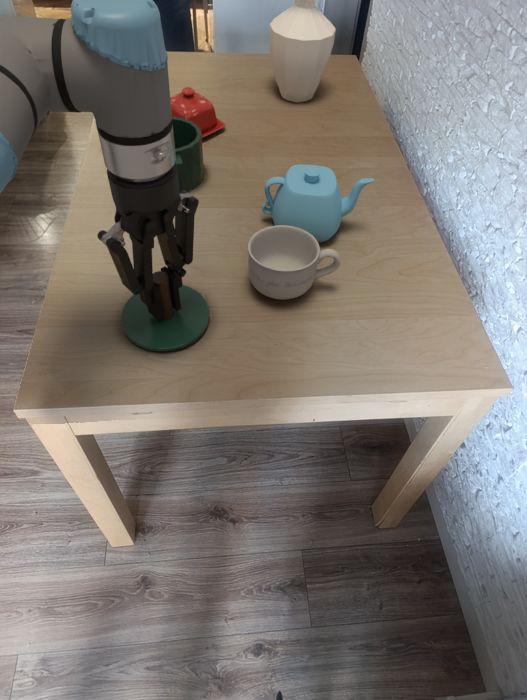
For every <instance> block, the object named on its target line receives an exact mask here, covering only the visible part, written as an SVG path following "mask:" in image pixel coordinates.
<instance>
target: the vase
mask: <svg viewBox="0 0 527 700" xmlns="http://www.w3.org/2000/svg"><path fill="white" fill-rule="evenodd" d="M316 3H317V0H294V4H292V5H291V6H289V7H288V8H287V9H285V10H284V11H283V12H281V13H280V14H278V15H276V16H275V17H274V18H273V19H272V20H271V22H270V23H269V29H268V30H269V31H268V45H269V53H270V54H269V55H270V59H271V64H272V69H273V74H274V79H275V83H276V84H277V87H278V90H279V93H280V96H281V98H283V99H284V100H286V101H289V102H293V103H296V104H297V103H305V102H307V101H310V100H312V99H313V97H314V95H315V94H316V92H317V89H318V87H319V84H320V82H321V80H322V77H323V74H324V72H325V70H326V67H327V65H328V62H329V60H330V57H331V54H332V50H333V48H334V43H335V36H336V30H337V28H336V27H335V26H334V25H333V23H332V22H331V21H330V20H329V18H328V17H326V16H325V14H324V13H323V12H322V11H321V10H320V9H319V8H318V7H317V6H316Z"/></svg>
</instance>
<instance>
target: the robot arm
mask: <svg viewBox="0 0 527 700" xmlns="http://www.w3.org/2000/svg"><path fill="white" fill-rule="evenodd" d="M70 14H71V17H68V18H53V17H37V16H24V15H23V16H22V15H10V14H9V15H8V14H0V195H1V194H2V193H3V192H4V189H5V188H6V187H7V185H8V183H11V182H12V180H13V179H14V178H15V176H16V173H17V171H18V165H19V163H20V160H21V159H22V156H23V154H24V152H25V150H26V148H27V146H28V144H29V142H30V140H31V139H32V137H33V136H34V135H35V133H36V131H37V129H38V127H39V126H40V123H41V121H42V120H43V118H44V115H45V114H46V112H57V113H92V115H93V117H94V120H95V125H96V131H97V134H98V138H99V143H100V147H101V148H100V149H101V152H102V157H103V162H104V166H105V168H106V175H107V180H108V184H109V189H110V193H111V197H112V200H113V203H114V206H115V214H114V217H113V218H114V224H113V225H112V226H111V227H110V229H108V230H104V229H102V230H100V231H98V233H97V239H98V240H99V241H100V242H101V243H103V244H104V245H105V246H106V248H107V250H108V252H109V255H110V258H111V260H112V262H113V264H114V267H115V270H116V272H117V274H118V276H119V279H120V281H121V283H122V285H123V286H124V287H125V288H126V289H127V290H128V291H129V292H130V293H132V295H138V294H140V299H141V301H142V302H143V303H145V304H146V305H147V307H148V312H149V313H150V314H151V315H153V316H154V317H155V318H156V319H157V320H158V321H159V322H161V321H162V320H164V317H163V311H162V304H161V298H160V292H159V287H158V286H156V285H155V284H154V283H153V273H154V272H153V268H154V267H153V249H154V248H155V238H156V239H157V242H158V246H159V248H160V252H161V255H162V258H163V262H164V265H165V266H163V267H161V268H160V271H163V272H166V273H167V274H168V276H169V283H170V290H171V297H172V304H173V308H174V309H175V310H176V311H178V310H180V309H181V303H180V295H179V288H181V287H182V285H183V279H182V278H183V277H185V276H186V274H187V270H186V269H185V268H183V267H184V266H186V265H191V264H192V263H193V261H194V241H195V240H194V239H195V216H196V212H197V209H198V206H199V203H200V202H199V201H200V200H199V199H198V198H197V197H195V196H194V195H192V194H191V193H189V191H185V190H182V191H181V192H180V193H179V182H178V172H177V165H176V163H175V161H176V154H175V144H174V134H173V123H172V113H171V101H170V97H171V91H170V90H171V89H170V79H169V67H168V66H169V65H168V59H169V58H168V52H167V50H166V46H165V39H164V32H163V26H162V19H161V13H160V10H159V7H158V5H157V4H156V2H155V1H154V0H72V1H71V5H70ZM124 233H127V234H128V237H129V239H130V241H131V248H132V249H131V250H132V261H131V258H130V256H129V253H128V251H127V249H126V248H125V246H126V242H125V238H124ZM132 263H133V264H132Z"/></svg>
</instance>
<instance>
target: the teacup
mask: <svg viewBox="0 0 527 700" xmlns="http://www.w3.org/2000/svg"><path fill="white" fill-rule="evenodd" d="M247 253H248V254H247V255H248V256H247V257H248V258H247V263H248V264H247V265H248V267H247V268H248V276H249V279H250V282H251V285H252V286H253V288H254V289H256V290H257V291H258V292H259V293H260V294H262V295H263V296H266V297H269V298H271V299H274V300H290V299H295V298H298V297H301V296H302V295H304V294H305V293H306V292H308V291H309V289H310V288H311V287H312V285H313V284H314V281H317V280H318V279H319V278H322V277H324V276H327V275H330V274H332V273H334V272H336V271H337V270H338V269H339V267H340V265H341V263H342V261H341V256H340V253H339V252H338V251H337V250H336V249H333V248H324V249H322V250H321V247H320V244H319V242H317V240H316V239H315V237H314V236H313V235H311V234H310V233H308V232H307V231H305V230H302V229H300V228H297V227H293V226H287V225H277V226H275V225H270V226H267V227H264V228H262V229H259V230H257V231H256V232H255V233H254V234H253V235H252V236H251V237H250V238H249V240H248V244H247ZM326 258H331V259H333V262H332V263H331V264H329V265H327V266H325V267H321V268H318V266H319V265H320V264H321V262H322V261H323V260H324V259H326Z"/></svg>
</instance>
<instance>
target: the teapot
mask: <svg viewBox="0 0 527 700" xmlns="http://www.w3.org/2000/svg"><path fill="white" fill-rule="evenodd" d="M374 181H375V179H374V178H373V177H365V178H361V179H359V180H357V181H356V182H355V183H354V184H353V186H352V189H351V191H350V193H348V195H346V196H344V197H342V193H341V190H340V187H339V183H338V180H337V177H336V174H335V172H334V171H333V170H332V169H331V168H330V167H328V166H322V165H316V164H295V165H292V166H291V167H290V168H289V169H288V170H287V172H286V173H285V175H284V176H283V177H282V176H273V177H271V178H269V179H268V180H266V182H265V184H264V195H265V197H266V200H267V201H264V202H263V203H262V205H261V210H262V213H264V214H265V215H271V217H272V221H273V224H274V226H277V225H287V226H293V227H297V228H300V229H302V230H305V231H307V232H308V233H310V234H311V235H313V236H314V237H315V239H316V240H317V242H318V243H323V242H326V241H328V240H330V239H331V238H332V237H333V236H334V235H335V234H336V233H337V231H338V229H339V228H340V226H341V222H342V218H344V217H346V216H347V215H350V213H351V212H353V210H354V209H355V207H356V205H357V202H358V199H359V197H360V194H361V192H362V190H363V189H364V188H365V187H366V186H367V185H369V184H371V183H373V182H374ZM273 185H278V187H277V189H276V192H275V195H274V198H273V196H272V193H271V191H270V190H271V189H270V188H271V186H273Z"/></svg>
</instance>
